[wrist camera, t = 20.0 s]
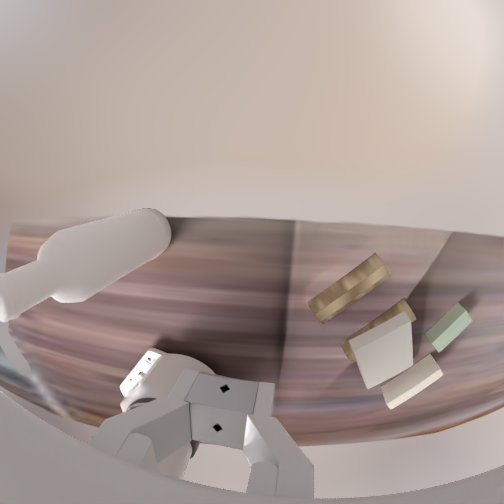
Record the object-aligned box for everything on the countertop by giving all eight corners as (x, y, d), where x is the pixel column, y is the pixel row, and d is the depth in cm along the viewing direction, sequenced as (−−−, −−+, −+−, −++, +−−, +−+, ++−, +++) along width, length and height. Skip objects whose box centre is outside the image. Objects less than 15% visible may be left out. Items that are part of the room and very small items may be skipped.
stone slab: (363, 380, 45) (367, 389, 43) (348, 340, 38) (353, 351, 36) (408, 357, 44) (412, 365, 42) (404, 311, 37) (411, 320, 35)
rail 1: (322, 316, 44) (324, 328, 40) (307, 297, 44) (308, 308, 40) (385, 270, 41) (393, 279, 37) (372, 250, 41) (379, 257, 37)
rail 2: (351, 353, 45) (355, 367, 41) (339, 337, 45) (342, 351, 41) (410, 312, 42) (419, 323, 38) (400, 294, 42) (408, 304, 38)
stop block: (384, 392, 46) (390, 409, 41) (380, 386, 46) (386, 404, 41) (433, 359, 43) (443, 374, 39) (430, 353, 43) (440, 368, 38)
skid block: (431, 342, 43) (438, 352, 40) (424, 333, 43) (431, 343, 39) (463, 312, 41) (472, 320, 37) (456, 301, 41) (466, 309, 37)
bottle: (173, 258, 45) (34, 359, 16) (130, 255, 46) (-13, 335, 17) (171, 207, 43) (8, 256, 14) (128, 207, 44) (-33, 250, 15)
